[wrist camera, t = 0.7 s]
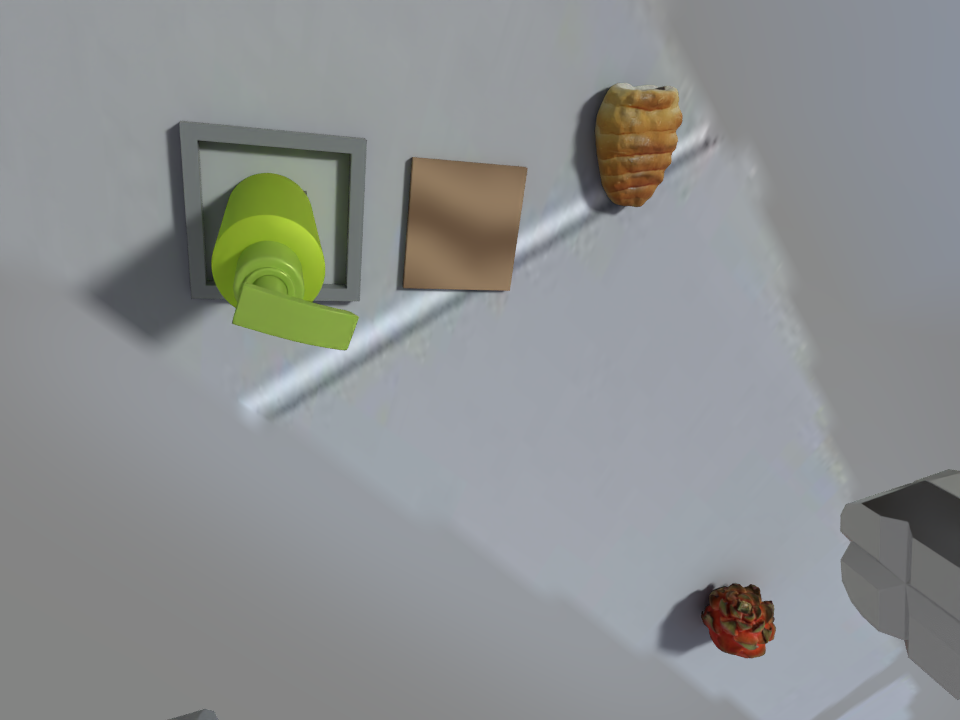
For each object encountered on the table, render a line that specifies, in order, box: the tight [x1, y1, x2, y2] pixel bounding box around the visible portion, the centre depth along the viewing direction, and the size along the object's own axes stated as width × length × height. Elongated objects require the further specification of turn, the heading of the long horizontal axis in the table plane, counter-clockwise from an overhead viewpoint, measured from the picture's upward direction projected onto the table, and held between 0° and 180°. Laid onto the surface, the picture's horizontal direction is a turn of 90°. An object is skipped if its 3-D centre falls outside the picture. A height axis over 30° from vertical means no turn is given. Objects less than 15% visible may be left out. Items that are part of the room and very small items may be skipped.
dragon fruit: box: [701, 583, 776, 658], centre depth 78 cm, size 8×8×12 cm
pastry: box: [595, 83, 682, 207], centre depth 50 cm, size 9×7×4 cm
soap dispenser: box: [211, 173, 359, 350], centre depth 37 cm, size 6×7×20 cm
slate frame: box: [179, 121, 367, 301], centre depth 45 cm, size 12×12×1 cm
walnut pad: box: [403, 157, 527, 291], centre depth 50 cm, size 10×9×1 cm
